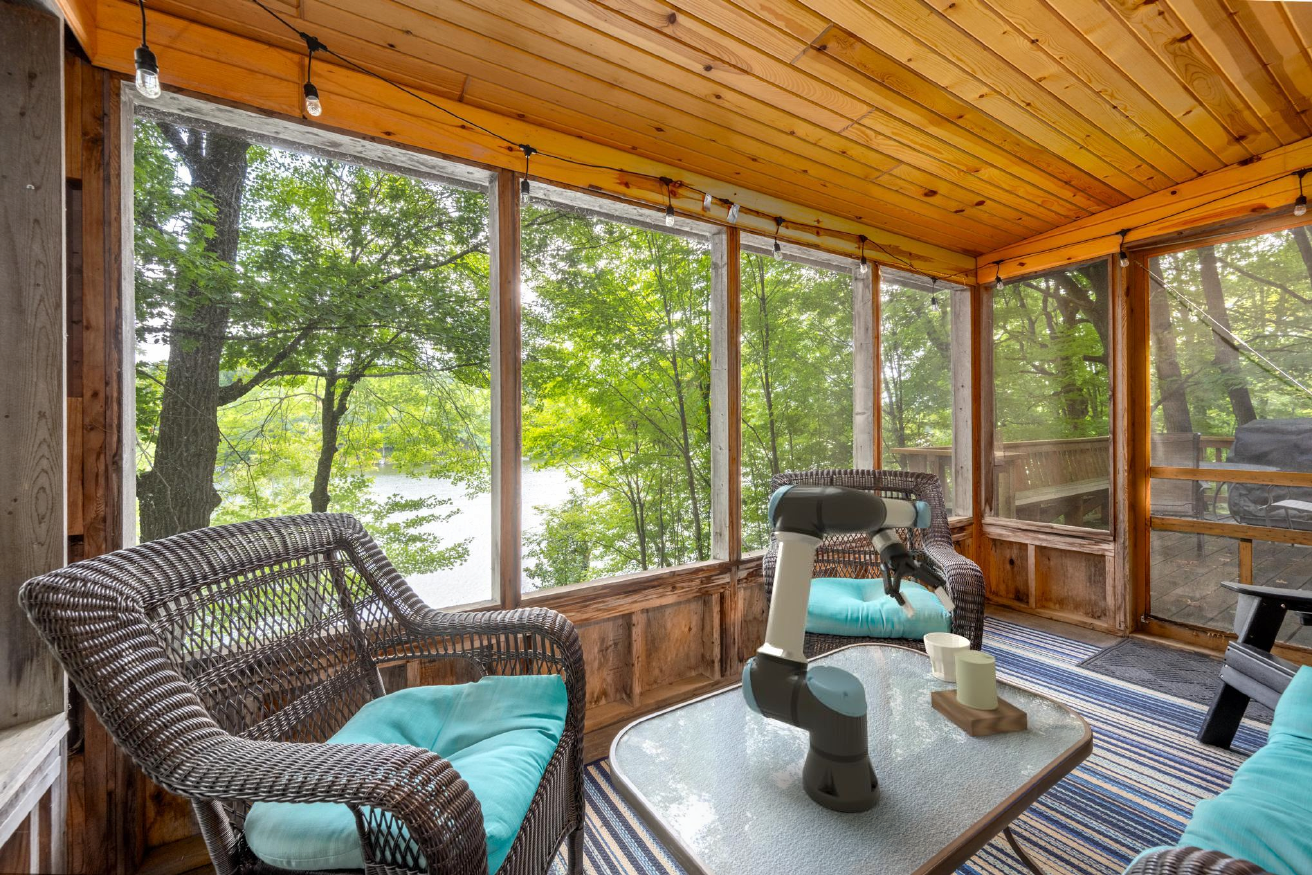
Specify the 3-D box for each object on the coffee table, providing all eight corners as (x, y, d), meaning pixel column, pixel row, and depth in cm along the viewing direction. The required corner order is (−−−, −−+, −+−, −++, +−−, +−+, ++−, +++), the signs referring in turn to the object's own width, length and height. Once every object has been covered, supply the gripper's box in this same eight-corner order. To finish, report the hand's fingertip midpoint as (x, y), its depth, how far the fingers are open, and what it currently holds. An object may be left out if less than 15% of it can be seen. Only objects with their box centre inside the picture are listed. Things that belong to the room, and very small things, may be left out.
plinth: (972, 736, 129) (971, 719, 129) (931, 706, 143) (930, 691, 144) (1027, 729, 131) (1026, 713, 131) (982, 700, 146) (981, 686, 146)
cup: (922, 665, 169) (920, 630, 169) (967, 669, 165) (965, 633, 165) (928, 683, 157) (926, 645, 157) (976, 687, 153) (974, 648, 153)
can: (1004, 711, 132) (1002, 662, 132) (964, 709, 134) (961, 660, 134) (989, 694, 141) (986, 648, 141) (951, 692, 143) (948, 647, 143)
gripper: (917, 552, 168) (960, 613, 154) (850, 559, 161) (888, 624, 146) (930, 537, 163) (975, 600, 149) (861, 544, 156) (902, 610, 141)
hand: (932, 612), depth 147 cm, fingers open, 13 cm apart
